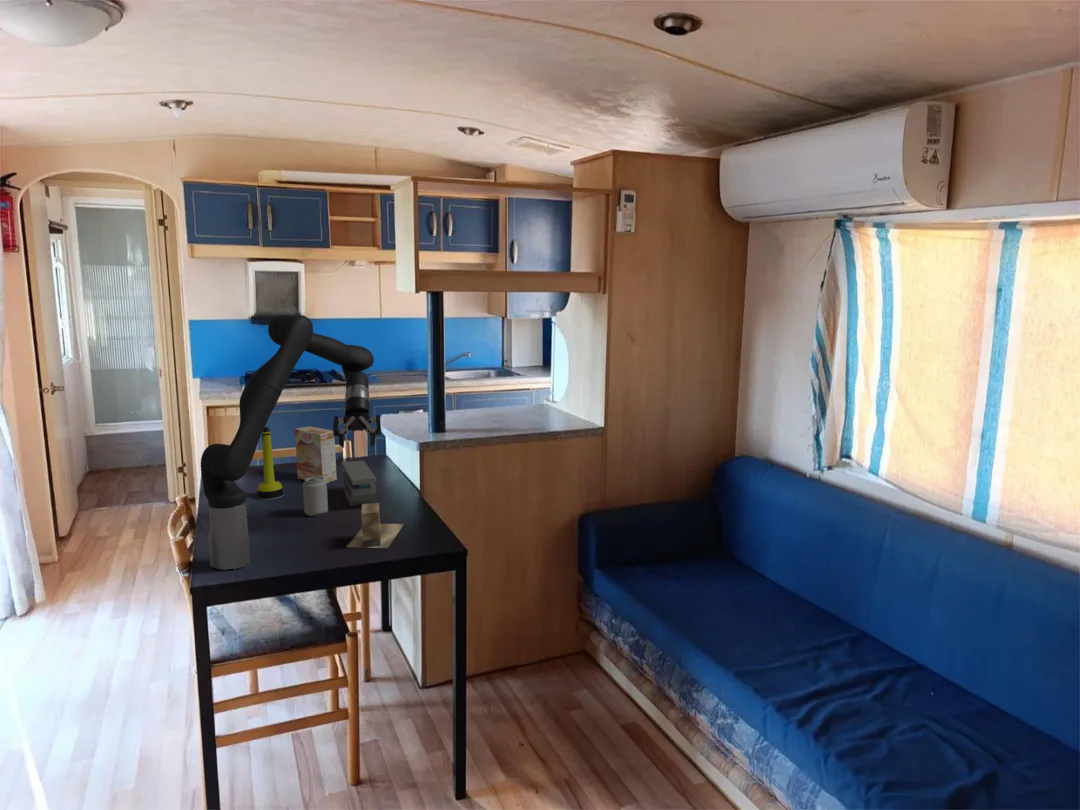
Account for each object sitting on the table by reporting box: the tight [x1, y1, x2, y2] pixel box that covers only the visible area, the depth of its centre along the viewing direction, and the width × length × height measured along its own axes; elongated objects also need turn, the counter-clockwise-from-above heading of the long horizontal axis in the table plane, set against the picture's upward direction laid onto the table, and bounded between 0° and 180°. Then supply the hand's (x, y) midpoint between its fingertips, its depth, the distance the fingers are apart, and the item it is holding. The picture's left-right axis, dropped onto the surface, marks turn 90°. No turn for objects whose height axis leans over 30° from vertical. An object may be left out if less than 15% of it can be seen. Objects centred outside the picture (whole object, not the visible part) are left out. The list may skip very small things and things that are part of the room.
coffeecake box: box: [294, 425, 338, 484], centre depth 279 cm, size 15×7×20 cm, turn 55°
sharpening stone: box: [341, 460, 377, 507], centre depth 254 cm, size 25×8×11 cm, turn 23°
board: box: [345, 523, 405, 549], centre depth 218 cm, size 12×20×1 cm, turn 177°
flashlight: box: [256, 426, 285, 501], centre depth 258 cm, size 25×9×9 cm
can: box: [302, 476, 329, 517], centre depth 240 cm, size 8×8×12 cm
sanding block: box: [360, 502, 381, 547], centre depth 212 cm, size 5×9×10 cm, turn 12°
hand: (357, 445), depth 221 cm, fingers open, 8 cm apart
